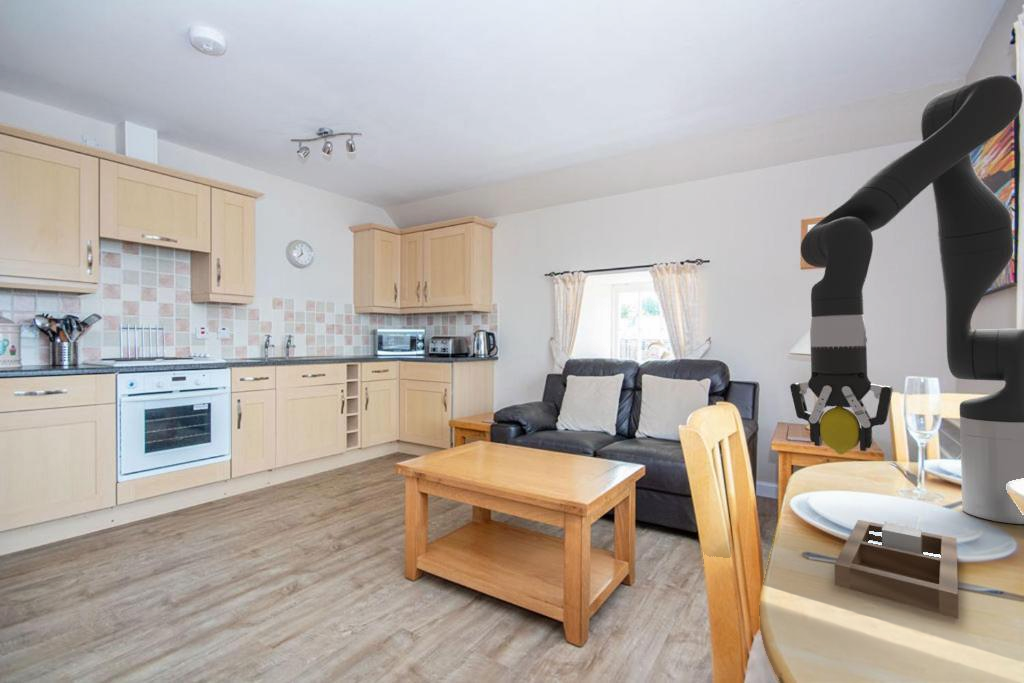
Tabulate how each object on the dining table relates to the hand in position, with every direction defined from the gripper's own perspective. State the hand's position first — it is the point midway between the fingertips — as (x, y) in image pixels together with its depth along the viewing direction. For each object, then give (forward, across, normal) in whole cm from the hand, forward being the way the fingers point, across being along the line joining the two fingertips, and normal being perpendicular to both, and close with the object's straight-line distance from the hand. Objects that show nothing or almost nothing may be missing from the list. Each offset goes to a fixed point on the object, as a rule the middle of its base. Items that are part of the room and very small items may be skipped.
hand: (840, 447), depth 78 cm
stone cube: (+12, +8, -10) cm, 18 cm away
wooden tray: (+14, +8, -14) cm, 21 cm away
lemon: (+1, 0, 0) cm, 1 cm away
